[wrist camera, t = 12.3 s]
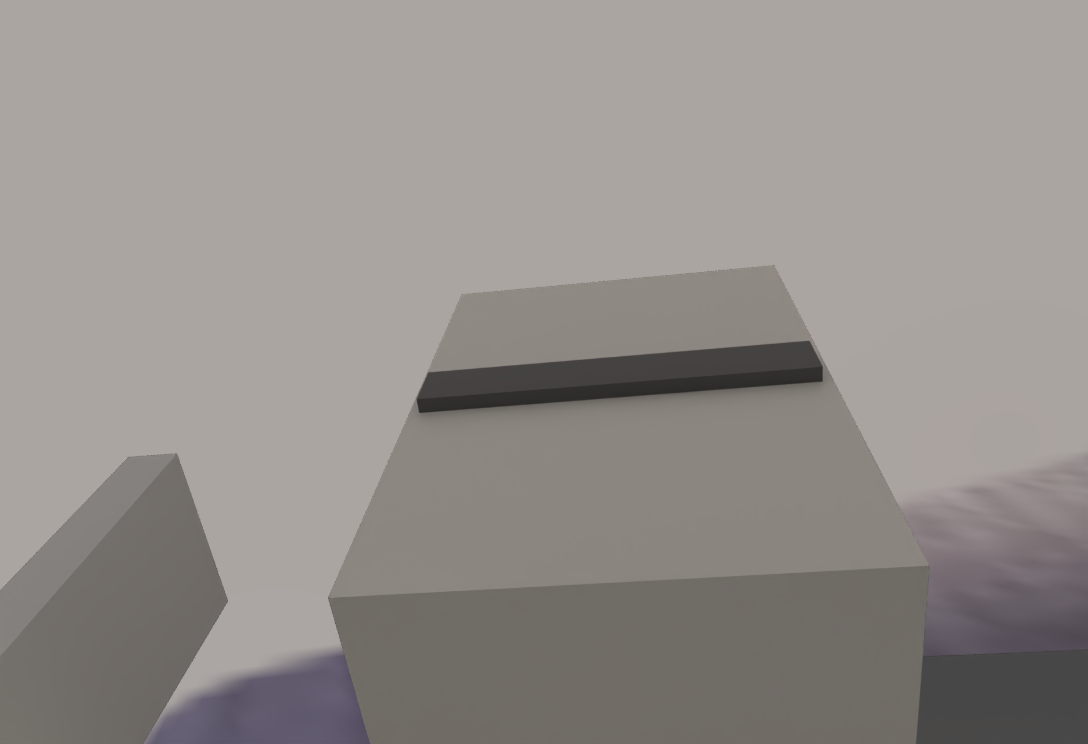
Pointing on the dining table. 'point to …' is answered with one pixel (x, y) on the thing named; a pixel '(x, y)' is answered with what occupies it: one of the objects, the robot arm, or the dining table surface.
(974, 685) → the console
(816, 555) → the fader knob
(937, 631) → the dining table surface
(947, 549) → the dining table surface
